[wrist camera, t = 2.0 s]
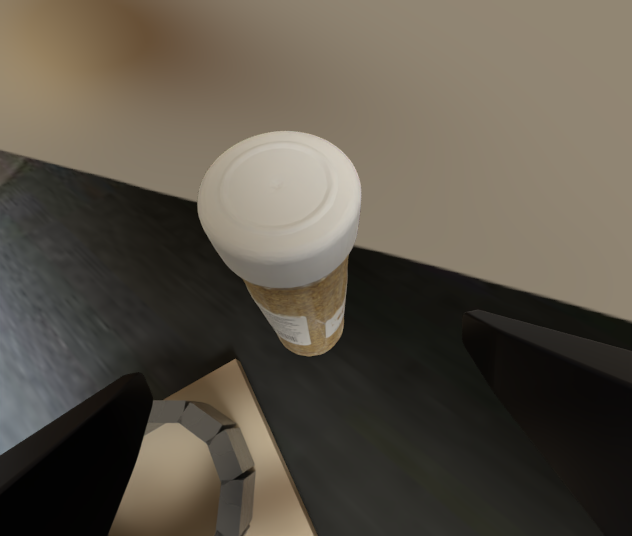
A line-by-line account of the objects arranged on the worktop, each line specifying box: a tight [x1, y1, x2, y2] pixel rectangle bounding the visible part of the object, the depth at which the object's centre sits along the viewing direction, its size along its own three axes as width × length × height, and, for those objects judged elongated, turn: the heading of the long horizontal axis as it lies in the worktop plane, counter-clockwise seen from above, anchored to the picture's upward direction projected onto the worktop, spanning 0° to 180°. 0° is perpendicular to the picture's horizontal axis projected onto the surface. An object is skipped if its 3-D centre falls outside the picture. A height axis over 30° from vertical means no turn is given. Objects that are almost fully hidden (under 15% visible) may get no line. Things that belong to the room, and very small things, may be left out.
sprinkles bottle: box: [197, 131, 361, 356], centre depth 14 cm, size 5×5×14 cm
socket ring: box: [108, 400, 256, 536], centre depth 14 cm, size 8×8×2 cm
